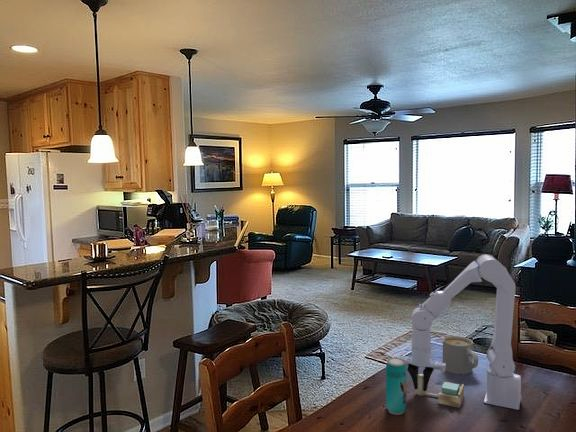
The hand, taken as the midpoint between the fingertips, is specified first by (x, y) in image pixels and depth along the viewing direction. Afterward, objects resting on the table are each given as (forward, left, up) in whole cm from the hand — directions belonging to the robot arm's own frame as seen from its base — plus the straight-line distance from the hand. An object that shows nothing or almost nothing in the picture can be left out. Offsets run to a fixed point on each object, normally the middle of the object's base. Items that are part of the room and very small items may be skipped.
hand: (420, 388), depth 148 cm
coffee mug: (-8, -24, -2) cm, 25 cm away
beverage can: (+4, +14, -2) cm, 15 cm away
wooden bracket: (-9, 0, -2) cm, 9 cm away
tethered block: (-5, 0, -2) cm, 5 cm away
